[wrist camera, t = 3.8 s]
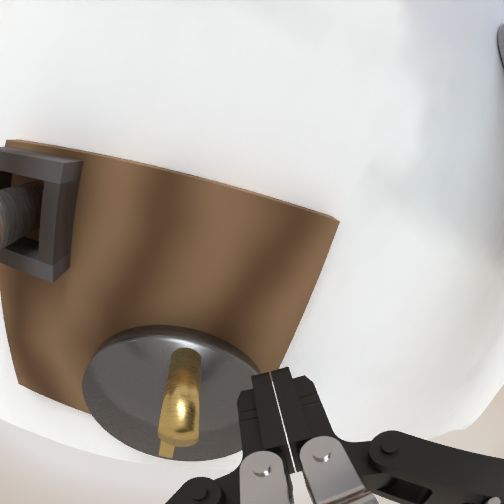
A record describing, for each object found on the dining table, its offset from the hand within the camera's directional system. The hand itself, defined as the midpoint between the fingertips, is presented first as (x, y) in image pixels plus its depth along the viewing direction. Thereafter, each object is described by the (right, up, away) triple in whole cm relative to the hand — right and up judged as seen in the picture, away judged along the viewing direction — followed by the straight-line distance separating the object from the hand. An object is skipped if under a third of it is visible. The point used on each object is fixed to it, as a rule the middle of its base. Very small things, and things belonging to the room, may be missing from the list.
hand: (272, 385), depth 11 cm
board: (-9, +1, +7) cm, 11 cm away
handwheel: (-6, -4, +6) cm, 9 cm away
